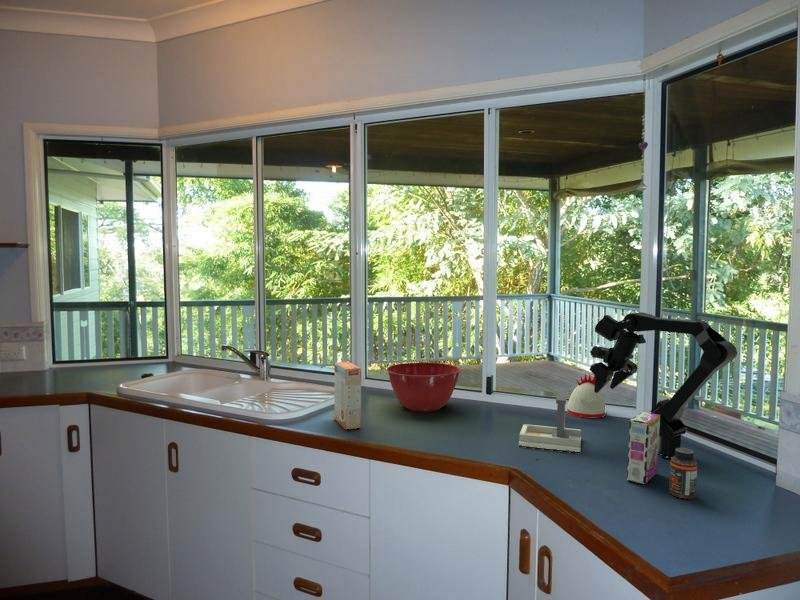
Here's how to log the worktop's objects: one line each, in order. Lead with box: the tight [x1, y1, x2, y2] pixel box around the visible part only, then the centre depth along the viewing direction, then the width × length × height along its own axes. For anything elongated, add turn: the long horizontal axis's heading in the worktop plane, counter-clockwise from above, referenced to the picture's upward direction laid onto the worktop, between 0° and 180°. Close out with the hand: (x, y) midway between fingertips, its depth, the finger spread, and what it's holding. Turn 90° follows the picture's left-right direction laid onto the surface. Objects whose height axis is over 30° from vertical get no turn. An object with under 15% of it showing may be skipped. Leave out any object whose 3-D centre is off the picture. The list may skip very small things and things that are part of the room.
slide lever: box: [552, 393, 569, 438], centre depth 175 cm, size 5×8×13 cm, turn 161°
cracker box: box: [333, 361, 362, 430], centre depth 195 cm, size 14×6×21 cm, turn 22°
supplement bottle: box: [668, 447, 698, 500], centre depth 137 cm, size 6×6×11 cm
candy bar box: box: [626, 411, 660, 485], centre depth 148 cm, size 11×5×16 cm, turn 141°
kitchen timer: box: [566, 373, 606, 418], centre depth 210 cm, size 14×14×15 cm
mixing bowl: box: [386, 361, 461, 413], centre depth 217 cm, size 28×28×16 cm
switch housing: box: [518, 423, 582, 453], centre depth 176 cm, size 18×14×4 cm
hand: (603, 390), depth 181 cm, fingers open, 9 cm apart
